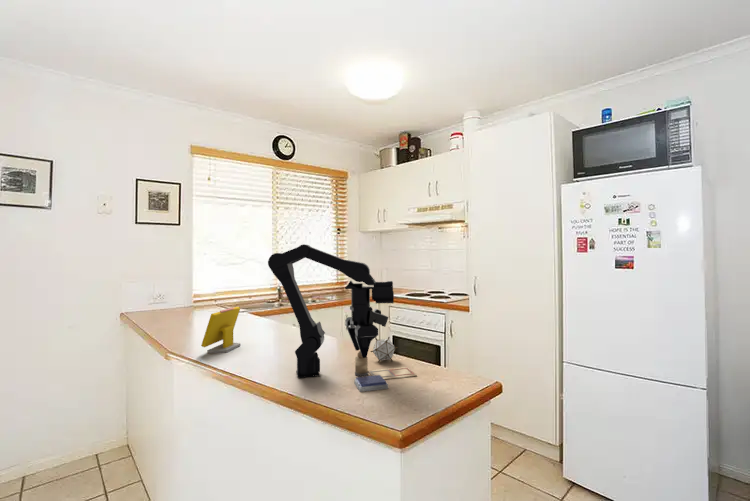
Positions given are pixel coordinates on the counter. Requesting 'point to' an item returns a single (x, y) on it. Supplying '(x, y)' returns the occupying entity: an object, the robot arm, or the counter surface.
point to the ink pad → (370, 383)
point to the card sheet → (393, 373)
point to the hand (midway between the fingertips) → (360, 353)
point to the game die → (383, 349)
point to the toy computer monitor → (221, 330)
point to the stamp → (361, 365)
